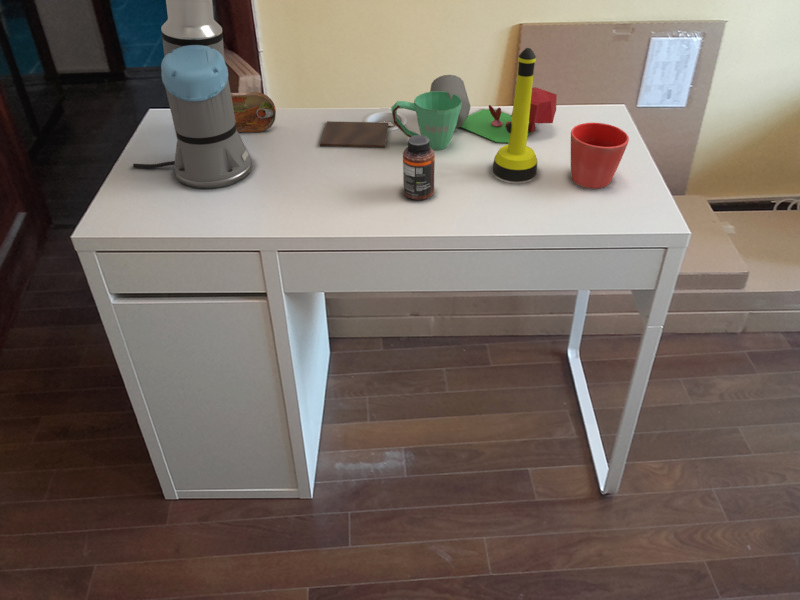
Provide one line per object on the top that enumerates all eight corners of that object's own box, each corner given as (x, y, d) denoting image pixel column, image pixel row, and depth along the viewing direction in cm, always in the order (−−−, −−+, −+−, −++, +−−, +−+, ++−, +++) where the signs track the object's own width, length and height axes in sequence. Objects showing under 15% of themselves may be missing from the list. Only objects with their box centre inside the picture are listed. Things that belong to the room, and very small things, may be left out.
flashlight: (554, 41, 125) (505, 38, 127) (552, 59, 119) (500, 55, 120) (537, 163, 141) (494, 159, 143) (535, 185, 135) (489, 181, 136)
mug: (459, 135, 152) (462, 91, 145) (459, 156, 144) (461, 111, 138) (393, 133, 153) (393, 90, 146) (389, 154, 145) (388, 109, 139)
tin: (209, 133, 153) (202, 97, 148) (212, 127, 156) (205, 91, 150) (277, 131, 154) (272, 95, 148) (278, 125, 156) (274, 89, 151)
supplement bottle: (423, 182, 136) (424, 129, 129) (440, 195, 132) (441, 141, 125) (397, 190, 134) (396, 137, 126) (413, 204, 130) (413, 150, 122)
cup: (426, 111, 146) (425, 73, 150) (429, 137, 155) (427, 101, 159) (471, 107, 146) (468, 69, 150) (471, 133, 154) (468, 97, 158)
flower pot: (603, 163, 141) (612, 119, 135) (628, 190, 133) (639, 144, 127) (555, 168, 140) (562, 124, 133) (577, 196, 131) (585, 150, 125)
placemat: (320, 146, 148) (319, 143, 148) (327, 123, 156) (327, 121, 156) (384, 147, 147) (384, 145, 147) (388, 125, 156) (388, 122, 155)
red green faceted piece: (523, 153, 145) (528, 113, 139) (452, 124, 155) (454, 85, 150) (564, 131, 153) (571, 92, 147) (494, 104, 164) (498, 67, 158)
